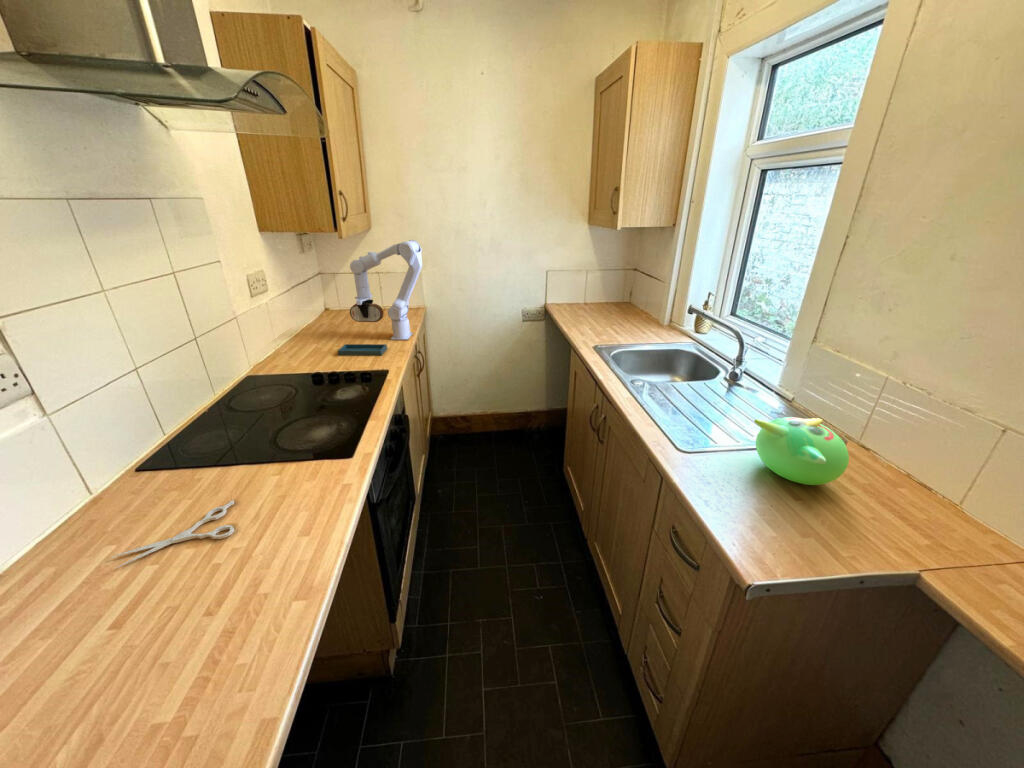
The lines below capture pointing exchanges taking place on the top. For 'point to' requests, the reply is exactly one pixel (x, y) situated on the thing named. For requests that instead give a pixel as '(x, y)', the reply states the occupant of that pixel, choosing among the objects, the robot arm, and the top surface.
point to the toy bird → (801, 450)
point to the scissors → (190, 533)
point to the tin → (373, 311)
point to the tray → (363, 349)
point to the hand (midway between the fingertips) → (367, 316)
